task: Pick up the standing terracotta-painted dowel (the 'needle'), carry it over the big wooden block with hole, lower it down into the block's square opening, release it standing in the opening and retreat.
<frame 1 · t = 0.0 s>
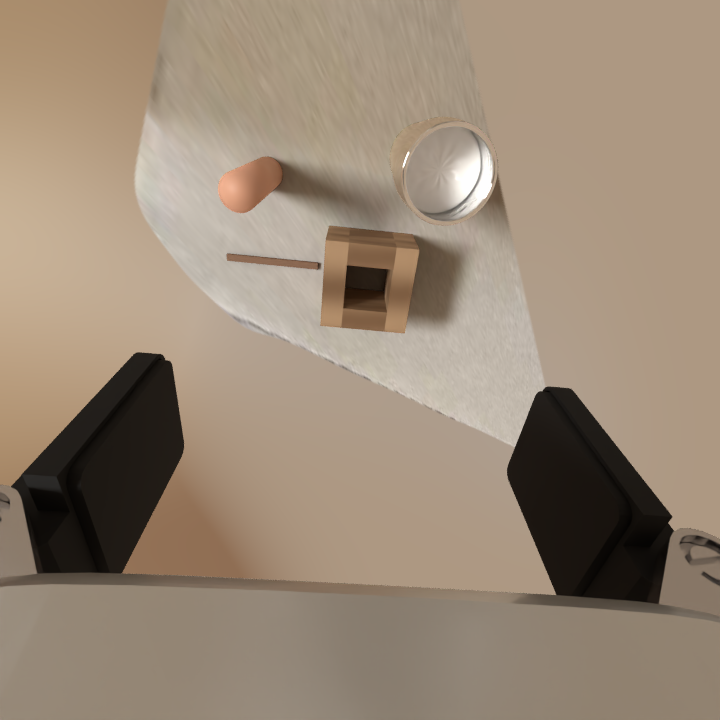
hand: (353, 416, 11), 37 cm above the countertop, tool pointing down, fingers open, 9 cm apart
wooden block with hole: (366, 270, 47), on the countertop
beer glass: (419, 157, 41), on the countertop
brown thin square rod: (273, 261, 46), on the countertop
dowel: (267, 173, 41), on the countertop
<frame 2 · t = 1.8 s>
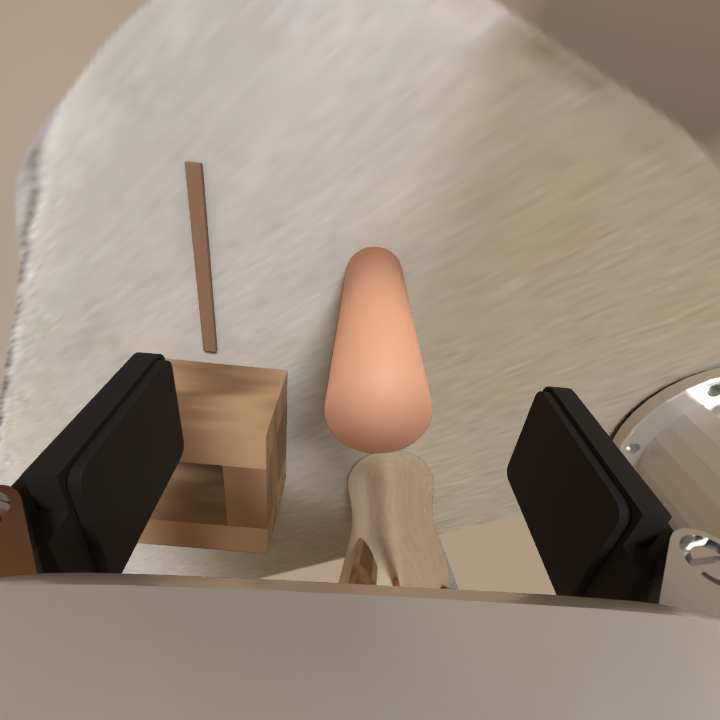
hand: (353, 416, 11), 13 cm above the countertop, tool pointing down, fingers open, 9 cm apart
wooden block with hole: (217, 422, 27), on the countertop
beer glass: (390, 479, 30), on the countertop
brown thin square rod: (204, 266, 22), on the countertop
dowel: (374, 275, 22), on the countertop
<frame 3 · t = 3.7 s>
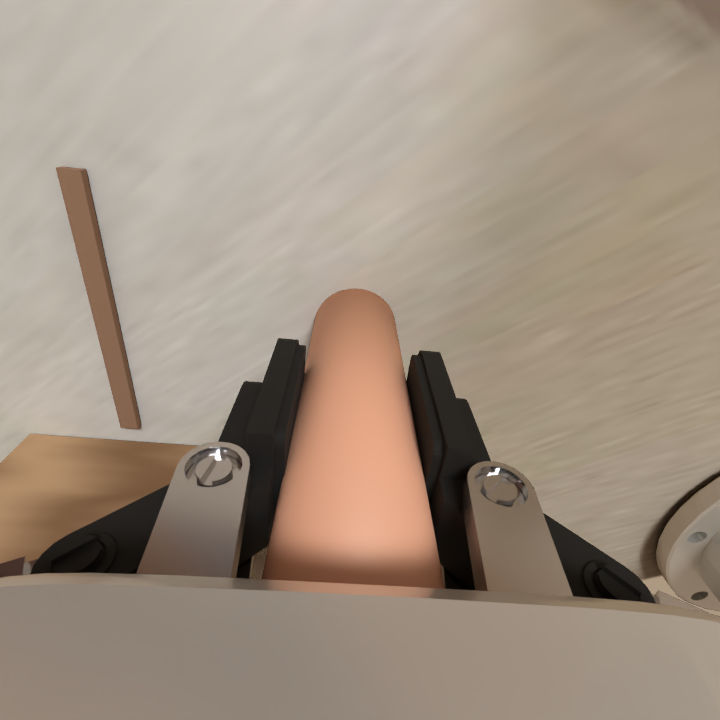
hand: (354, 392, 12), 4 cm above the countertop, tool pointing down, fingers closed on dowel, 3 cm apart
wooden block with hole: (152, 510, 20), on the countertop
brown thin square rod: (108, 317, 15), on the countertop
dowel: (354, 326, 15), on the countertop, touching gripper
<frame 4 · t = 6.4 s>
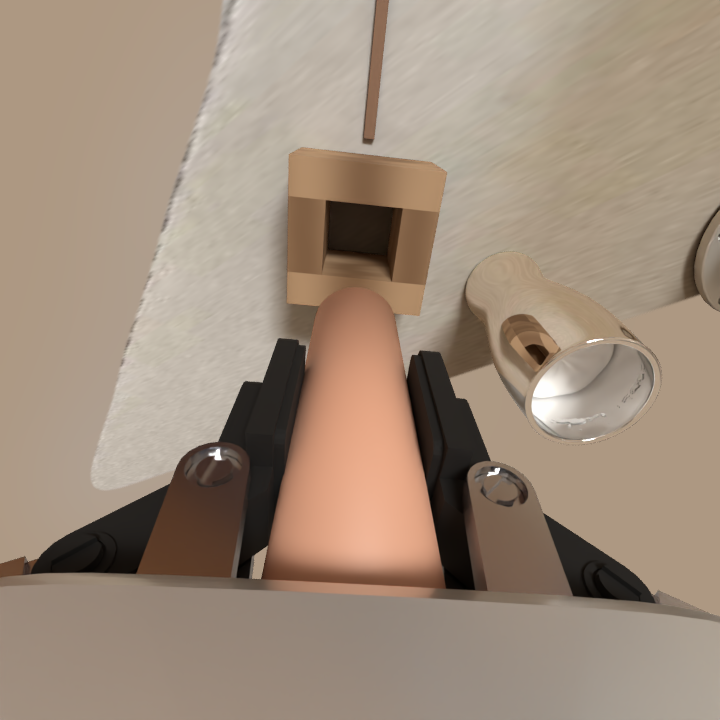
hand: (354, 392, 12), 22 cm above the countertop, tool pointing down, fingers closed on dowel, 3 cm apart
wooden block with hole: (360, 221, 31), on the countertop
beer glass: (501, 287, 33), on the countertop
brown thin square rod: (378, 46, 25), on the countertop
dowel: (354, 325, 15), point 18 cm above the countertop, touching gripper
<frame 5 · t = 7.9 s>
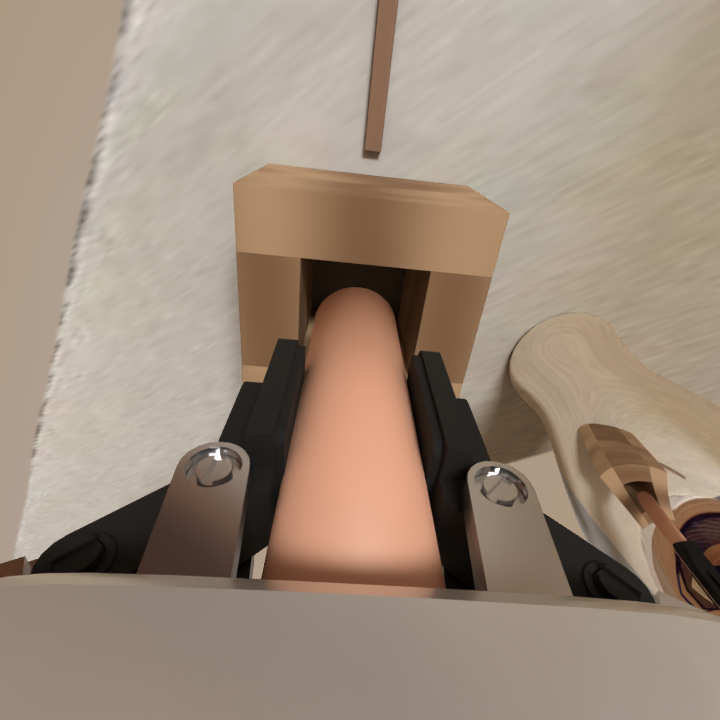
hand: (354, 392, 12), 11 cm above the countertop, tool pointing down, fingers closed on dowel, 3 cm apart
wooden block with hole: (359, 272, 21), on the countertop
beer glass: (560, 358, 24), on the countertop
brown thin square rod: (388, 1, 15), on the countertop
dowel: (354, 325, 15), point 6 cm above the countertop, touching gripper
when the fingers open (7 cm above the countertop, at t = 9.2 s): dowel drops 2 cm, resting in wooden block with hole.
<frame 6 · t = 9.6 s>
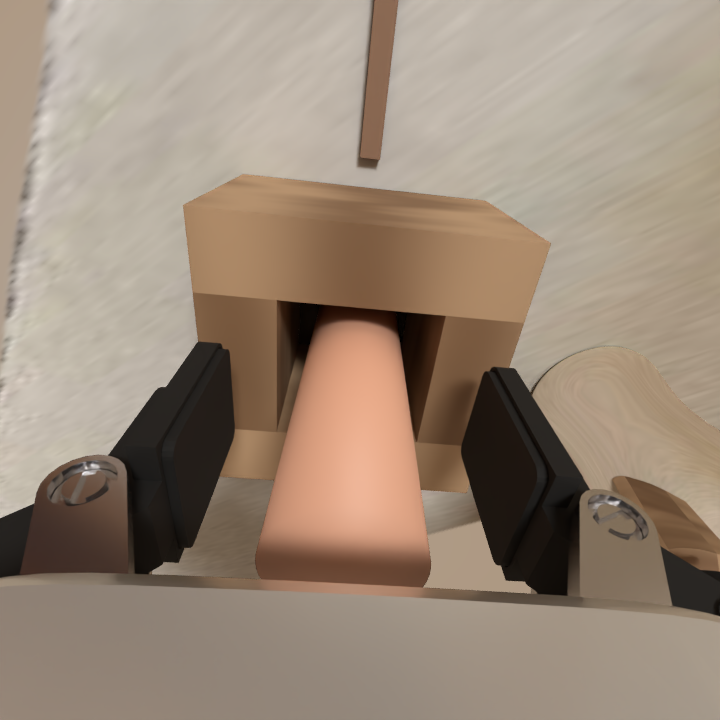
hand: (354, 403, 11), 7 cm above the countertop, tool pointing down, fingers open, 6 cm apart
wooden block with hole: (354, 301, 17), on the countertop
beer glass: (588, 396, 20), on the countertop
dowel: (358, 300, 17), resting in wooden block with hole
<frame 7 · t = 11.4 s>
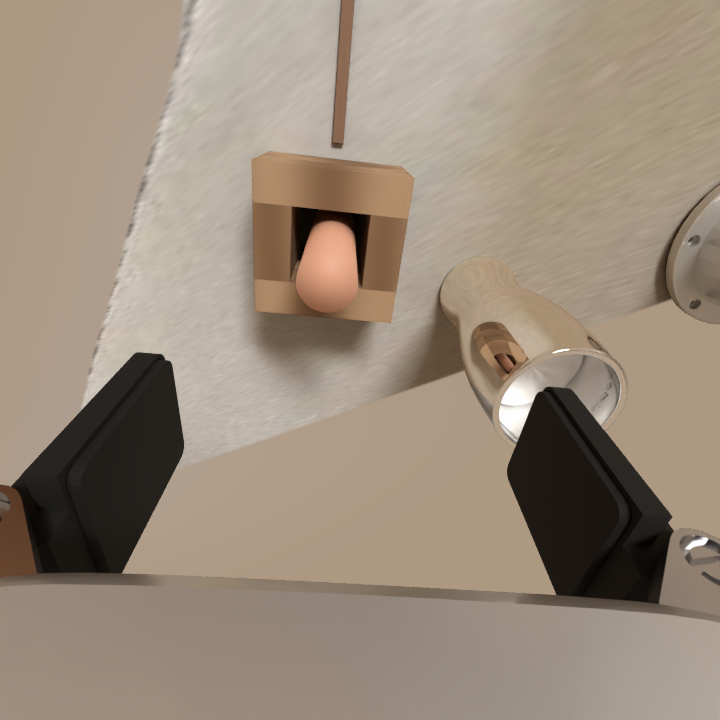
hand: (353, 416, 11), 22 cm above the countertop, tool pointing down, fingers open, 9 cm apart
wooden block with hole: (331, 226, 30), on the countertop
beer glass: (476, 292, 33), on the countertop
brown thin square rod: (344, 49, 25), on the countertop
dowel: (333, 226, 30), resting in wooden block with hole
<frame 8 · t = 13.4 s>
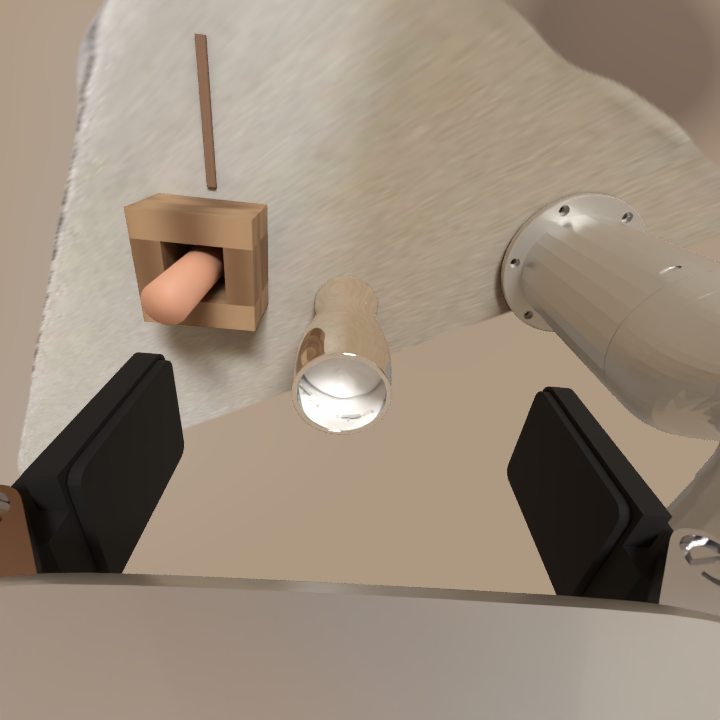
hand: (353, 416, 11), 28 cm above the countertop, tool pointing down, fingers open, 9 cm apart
wooden block with hole: (217, 252, 37), on the countertop
beer glass: (346, 304, 40), on the countertop
brown thin square rod: (207, 116, 32), on the countertop
dowel: (218, 251, 37), resting in wooden block with hole
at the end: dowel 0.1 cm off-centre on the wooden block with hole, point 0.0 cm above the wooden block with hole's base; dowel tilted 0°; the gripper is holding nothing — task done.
